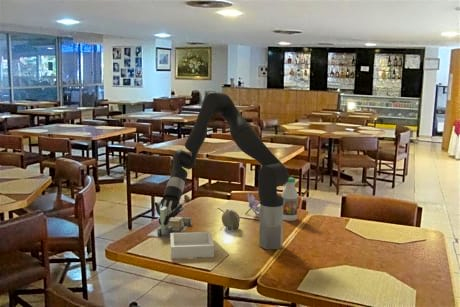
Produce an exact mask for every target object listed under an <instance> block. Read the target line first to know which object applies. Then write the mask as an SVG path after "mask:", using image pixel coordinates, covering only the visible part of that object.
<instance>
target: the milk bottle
mask: <svg viewBox="0 0 460 307" xmlns="http://www.w3.org/2000/svg"><path fill="white" fill-rule="evenodd" d="M295 183H296V178H295V177H291V176H289V179H288V182H287V183H286V184H285V185H284V188H283V190H282V192H281V196H282V197H283V200H284V202H283V221H286V222H293V221H297V218H298V207H299V206H298V201H299V197H298V196H299V195H298V191H297V189H296V185H295Z"/></svg>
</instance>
